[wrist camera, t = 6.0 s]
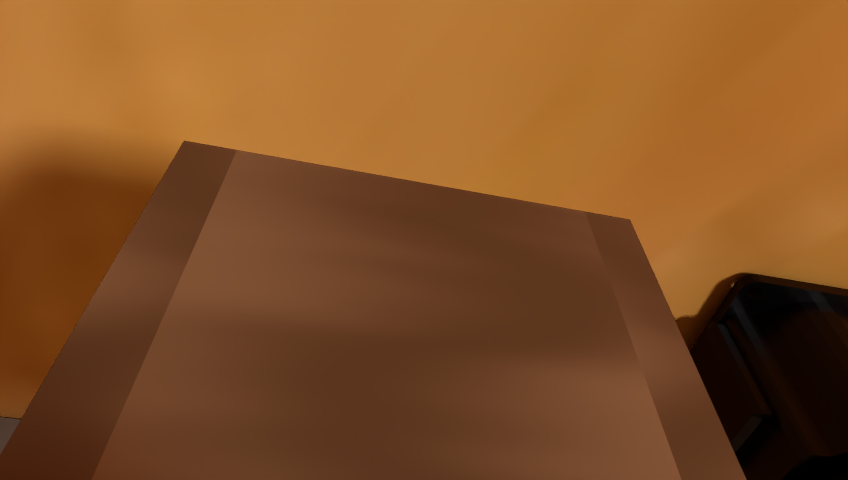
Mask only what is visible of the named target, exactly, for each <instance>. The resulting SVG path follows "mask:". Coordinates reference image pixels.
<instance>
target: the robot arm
mask: <svg viewBox="0 0 848 480" xmlns="http://www.w3.org/2000/svg"><path fill="white" fill-rule="evenodd" d="M753 287H754V288H753ZM751 288H753V289H751ZM749 289H751V290H749ZM690 355H691V357H692V359H693V361H694V364H695V366H696V368H697V370H698V373H699V375H700V377H701V379H702V381H703V384H704V386H705V388H706V390H707V393H708V395H709V397H710V399H711V402H712V404H713V406H714V408H715V410H716V413H717V415H718V417H719V419H720V422H721V424H722V426H723V428H724V431H725V433H726V435H727V437H728V439H729V442H730V444H731V446H732V448H733V451H734V453H735V455H736V457H737V459H738V462H739V464H740V466H741V468H742V471H743V473H744V475H745V477H746V480H848V289H842V288H836V287H830V286H824V285H818V284H812V283H806V282H800V281H794V280H788V279H782V278H776V277H770V276H764V275H758V274H749V275H746V276H743V277H742V278H740V279H739V280H738V281H737V282H736V283H735V284H734V286H733V287H732V289H731V290H730V292H729V293H728V295H727V296H726V298H725V299H724V301H723V302H722V304H721V305H720V307H719V308H718V310H717V311H716V313H715V314H714V316H713V317H712V319H711V321H710V322H709V324H708V325H707V327H706V328H705V330H704V331H703V333H702V334H701V336H700V337H699V339H698V340H697V342H696V343H695V345H694V346H693V348H692V349H691V351H690Z"/></svg>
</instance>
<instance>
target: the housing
mask: <svg viewBox="0 0 848 480" xmlns="http://www.w3.org/2000/svg"><path fill="white" fill-rule="evenodd" d="M0 480H746V477H745V475H744V473H743V471H742V468H741V466H740V464H739V462H738V459H737V457H736V455H735V453H734V451H733V448H732V446H731V444H730V442H729V439H728V437H727V435H726V433H725V431H724V428H723V426H722V424H721V422H720V419H719V417H718V415H717V413H716V410H715V408H714V406H713V404H712V402H711V399H710V397H709V395H708V393H707V390H706V388H705V386H704V384H703V381H702V379H701V377H700V375H699V373H698V370H697V368H696V366H695V364H694V361H693V359H692V357H691V355H690V352H689V350H688V348H687V346H686V344H685V341H684V339H683V337H682V335H681V332H680V330H679V328H678V326H677V324H676V321H675V319H674V317H673V315H672V312H671V310H670V308H669V306H668V303H667V301H666V299H665V297H664V295H663V292H662V290H661V288H660V286H659V283H658V281H657V279H656V277H655V274H654V272H653V270H652V268H651V266H650V263H649V261H648V259H647V257H646V254H645V252H644V250H643V248H642V245H641V243H640V241H639V239H638V237H637V234H636V232H635V230H634V228H633V225H632V223H631V221H630V220H629V219H624V218H618V217H612V216H607V215H601V214H595V213H590V212H584V211H579V210H573V209H567V208H562V207H556V206H550V205H545V204H539V203H533V202H528V201H522V200H516V199H511V198H505V197H499V196H494V195H488V194H482V193H477V192H471V191H466V190H460V189H454V188H449V187H443V186H437V185H432V184H426V183H420V182H415V181H409V180H403V179H398V178H392V177H386V176H381V175H375V174H369V173H364V172H358V171H353V170H347V169H341V168H336V167H330V166H324V165H319V164H313V163H307V162H302V161H296V160H290V159H285V158H279V157H273V156H268V155H262V154H256V153H251V152H245V151H240V150H234V149H228V148H223V147H217V146H211V145H206V144H200V143H194V142H189V141H184V142H183V143H182V145H181V147H180V148H179V150H178V152H177V154H176V155H175V157H174V159H173V160H172V162H171V164H170V166H169V167H168V169H167V171H166V172H165V174H164V176H163V177H162V179H161V181H160V183H159V184H158V186H157V188H156V189H155V191H154V193H153V195H152V196H151V198H150V200H149V201H148V203H147V205H146V207H145V208H144V210H143V212H142V213H141V215H140V217H139V218H138V220H137V222H136V224H135V225H134V227H133V229H132V230H131V232H130V234H129V236H128V237H127V239H126V241H125V242H124V244H123V246H122V248H121V249H120V251H119V253H118V254H117V256H116V258H115V260H114V261H113V263H112V265H111V266H110V268H109V270H108V271H107V273H106V275H105V277H104V278H103V280H102V282H101V283H100V285H99V287H98V289H97V290H96V292H95V294H94V295H93V297H92V299H91V301H90V302H89V304H88V306H87V307H86V309H85V311H84V313H83V314H82V316H81V318H80V319H79V321H78V323H77V324H76V326H75V328H74V330H73V331H72V333H71V335H70V336H69V338H68V340H67V342H66V343H65V345H64V347H63V348H62V350H61V352H60V354H59V355H58V357H57V359H56V360H55V362H54V364H53V365H52V367H51V369H50V371H49V372H48V374H47V376H46V377H45V379H44V381H43V383H42V384H41V386H40V388H39V389H38V391H37V393H36V395H35V396H34V398H33V400H32V401H31V403H30V405H29V407H28V408H27V410H26V412H25V413H24V415H23V417H22V418H21V420H20V422H19V424H18V425H17V427H16V429H15V430H14V432H13V434H12V436H11V437H10V439H9V441H8V442H7V444H6V446H5V448H4V449H3V451H2V453H1V454H0Z"/></svg>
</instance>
